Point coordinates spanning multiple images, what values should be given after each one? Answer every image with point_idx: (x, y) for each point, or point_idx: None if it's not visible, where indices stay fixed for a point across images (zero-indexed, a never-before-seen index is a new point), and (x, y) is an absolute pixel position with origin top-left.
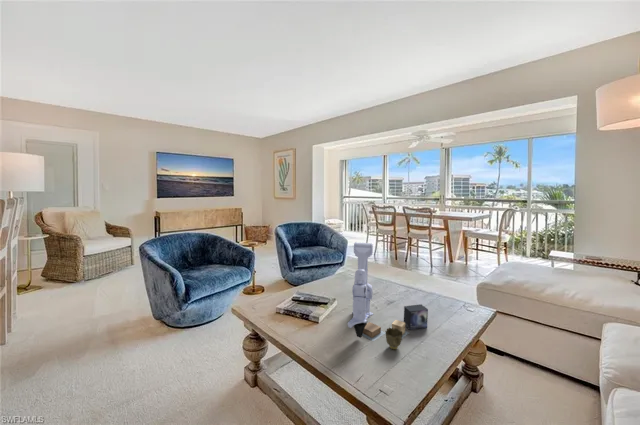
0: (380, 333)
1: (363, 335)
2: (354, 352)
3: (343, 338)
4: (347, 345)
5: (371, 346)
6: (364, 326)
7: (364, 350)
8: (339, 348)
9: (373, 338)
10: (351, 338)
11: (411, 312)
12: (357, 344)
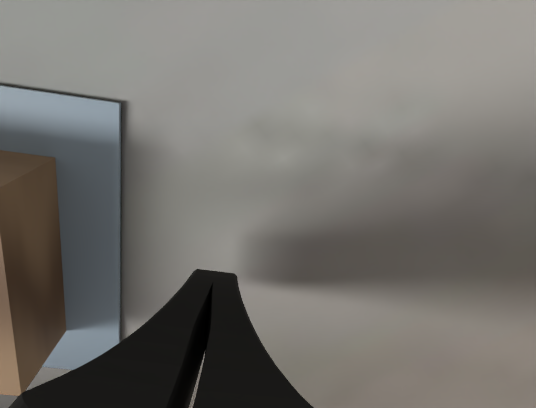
0: None
1: (100, 275)
2: (510, 175)
3: (312, 397)
4: (412, 307)
5: (248, 58)
6: (121, 375)
7: (401, 91)
8: (510, 338)
9: (50, 136)
10: None
11: None
12: (325, 234)
